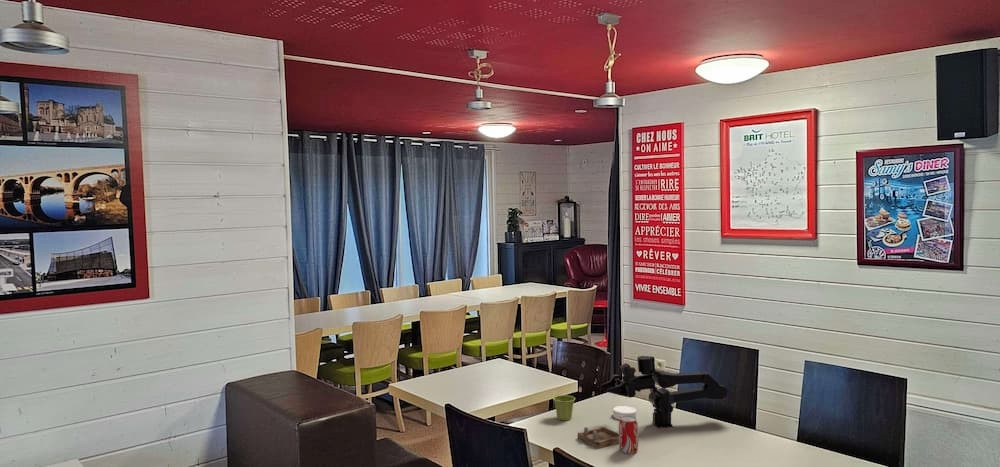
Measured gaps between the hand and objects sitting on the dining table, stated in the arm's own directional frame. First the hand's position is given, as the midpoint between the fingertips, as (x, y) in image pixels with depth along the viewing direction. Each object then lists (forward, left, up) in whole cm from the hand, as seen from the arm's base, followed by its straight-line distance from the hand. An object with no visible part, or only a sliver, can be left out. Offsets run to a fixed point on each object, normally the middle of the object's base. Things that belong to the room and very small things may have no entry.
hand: (603, 388), depth 256 cm
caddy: (+5, +12, -16) cm, 21 cm away
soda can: (-2, +24, -17) cm, 29 cm away
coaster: (-13, -13, -17) cm, 25 cm away
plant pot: (+13, -15, -17) cm, 26 cm away
